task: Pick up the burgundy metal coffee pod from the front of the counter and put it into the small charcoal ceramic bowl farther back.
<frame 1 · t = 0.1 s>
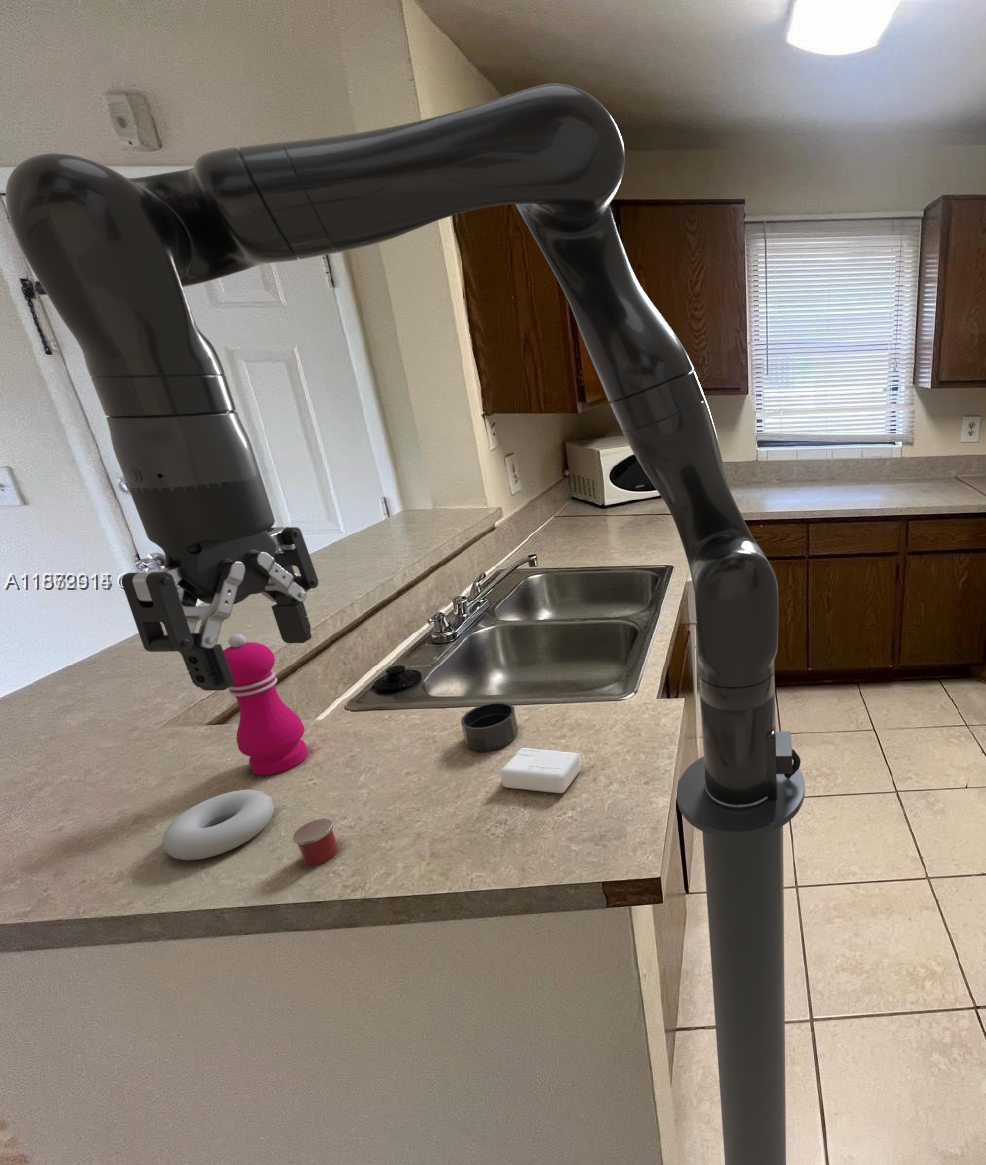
hand: (261, 663, 51), 29 cm above the counter, tool pointing down, fingers open, 8 cm apart
bowl: (492, 737, 89), on the counter
pod: (321, 854, 68), on the counter
donut: (226, 835, 71), on the counter
pepper mill: (281, 762, 84), on the counter
soap: (543, 780, 80), on the counter
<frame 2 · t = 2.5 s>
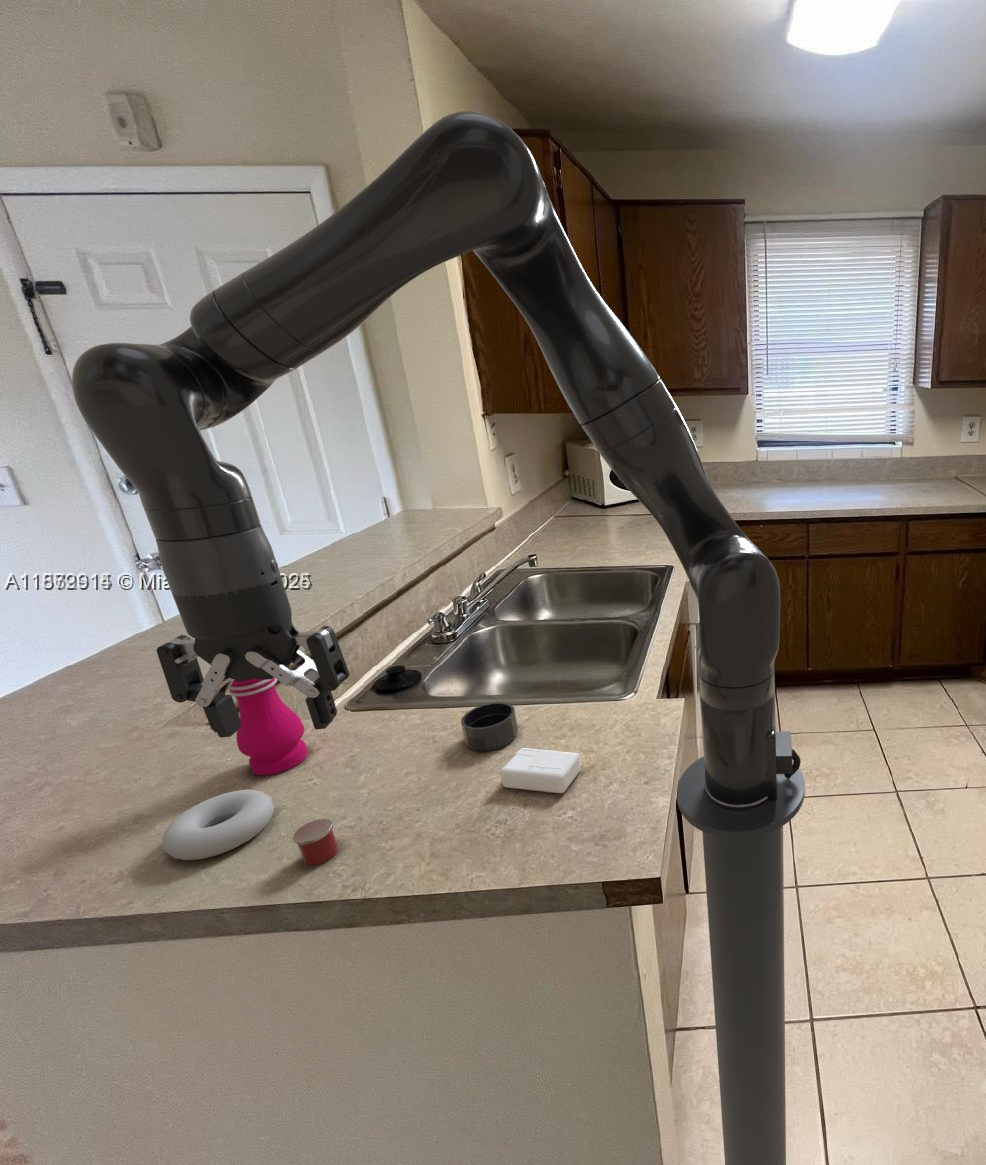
hand: (279, 728, 60), 18 cm above the counter, tool pointing down, fingers open, 8 cm apart
nothing on the counter moved.
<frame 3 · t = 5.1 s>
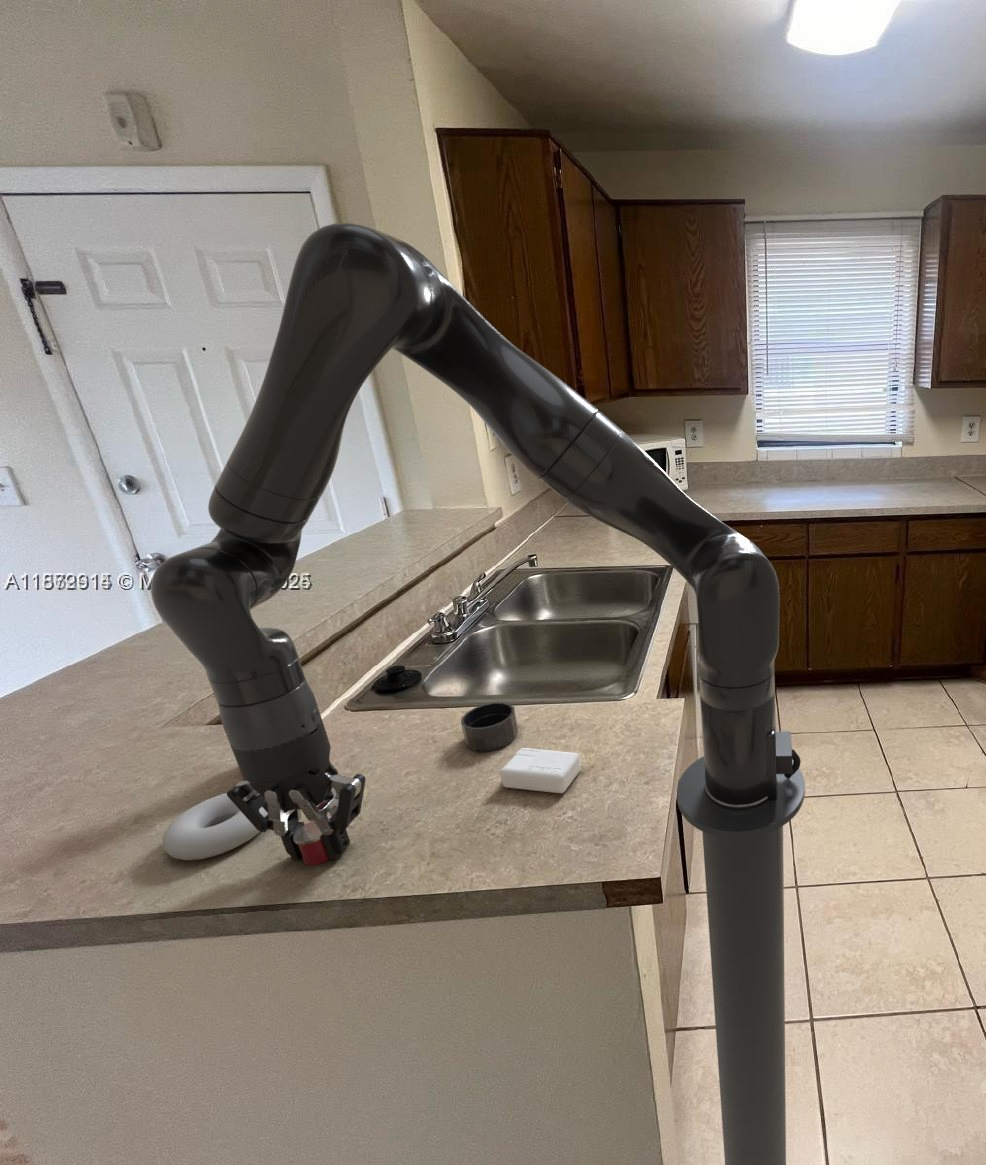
hand: (321, 853, 68), 0 cm above the counter, tool pointing down, fingers closed on pod, 3 cm apart
pod: (321, 854, 68), on the counter, touching gripper
everything else where it was.
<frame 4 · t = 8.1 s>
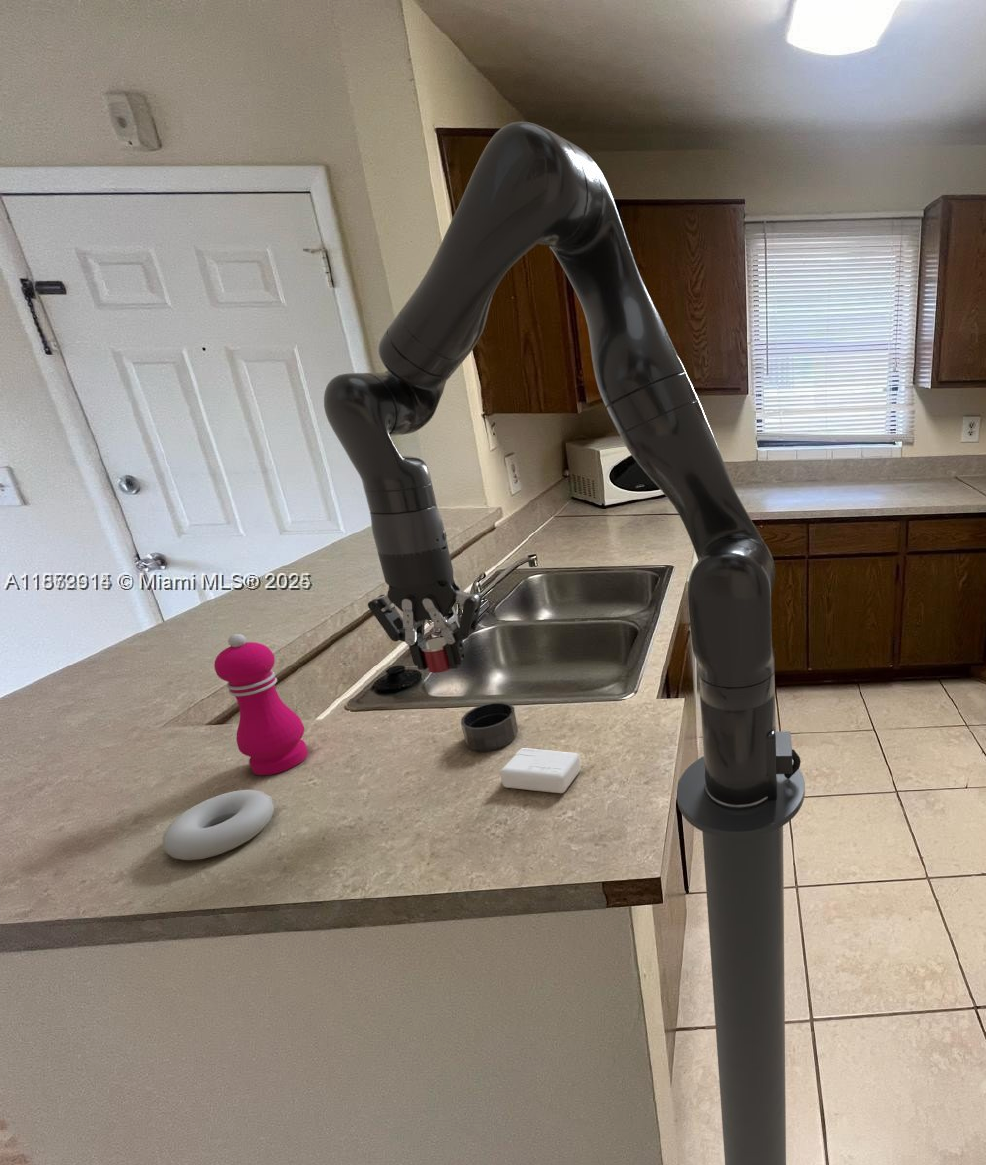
hand: (441, 665, 79), 15 cm above the counter, tool pointing down, fingers closed on pod, 3 cm apart
pod: (441, 667, 79), point 15 cm above the counter, touching gripper
everything else where it was.
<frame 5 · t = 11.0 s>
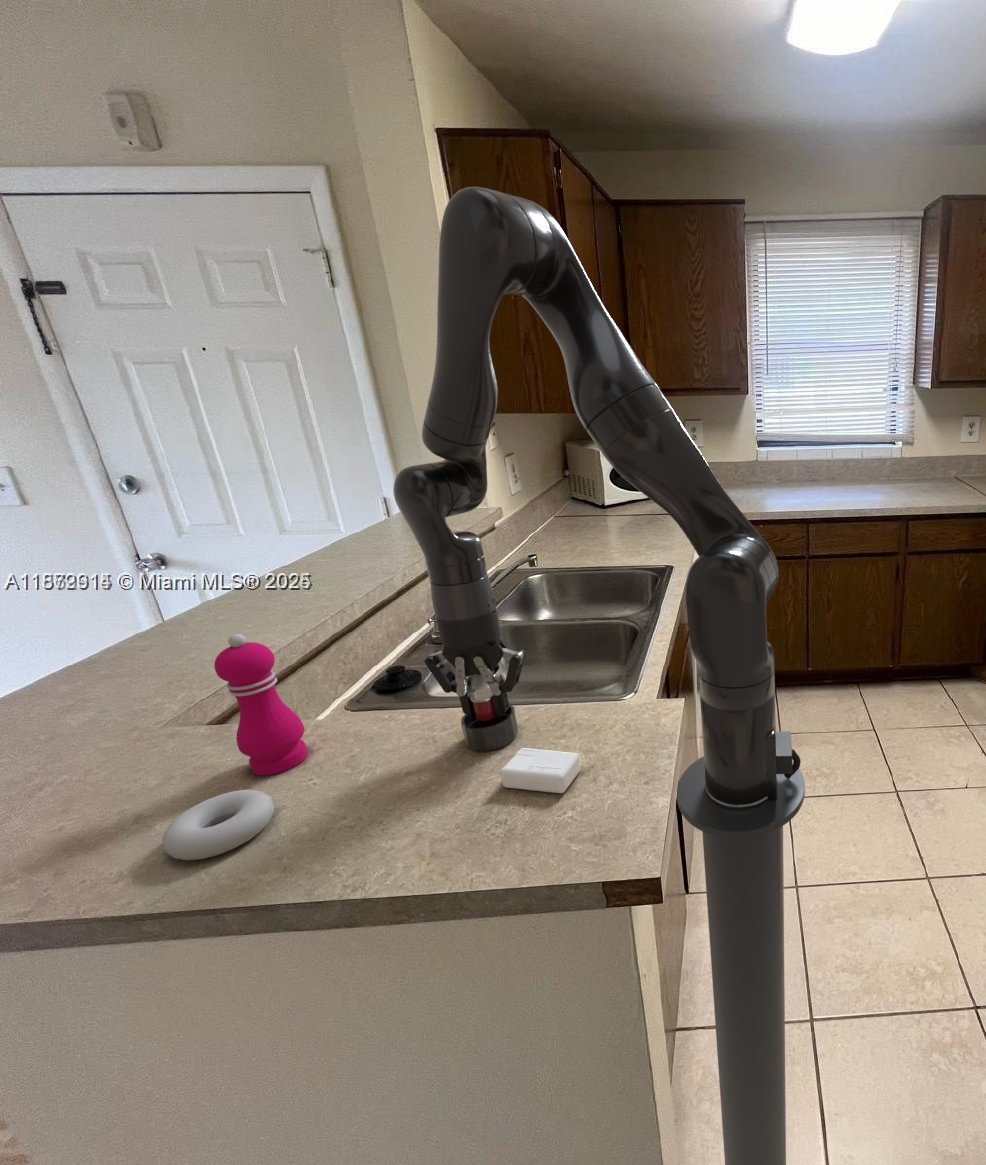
hand: (487, 713, 88), 4 cm above the counter, tool pointing down, fingers closed on pod, 3 cm apart
pod: (487, 715, 88), point 4 cm above the counter, touching gripper
everything else where it was.
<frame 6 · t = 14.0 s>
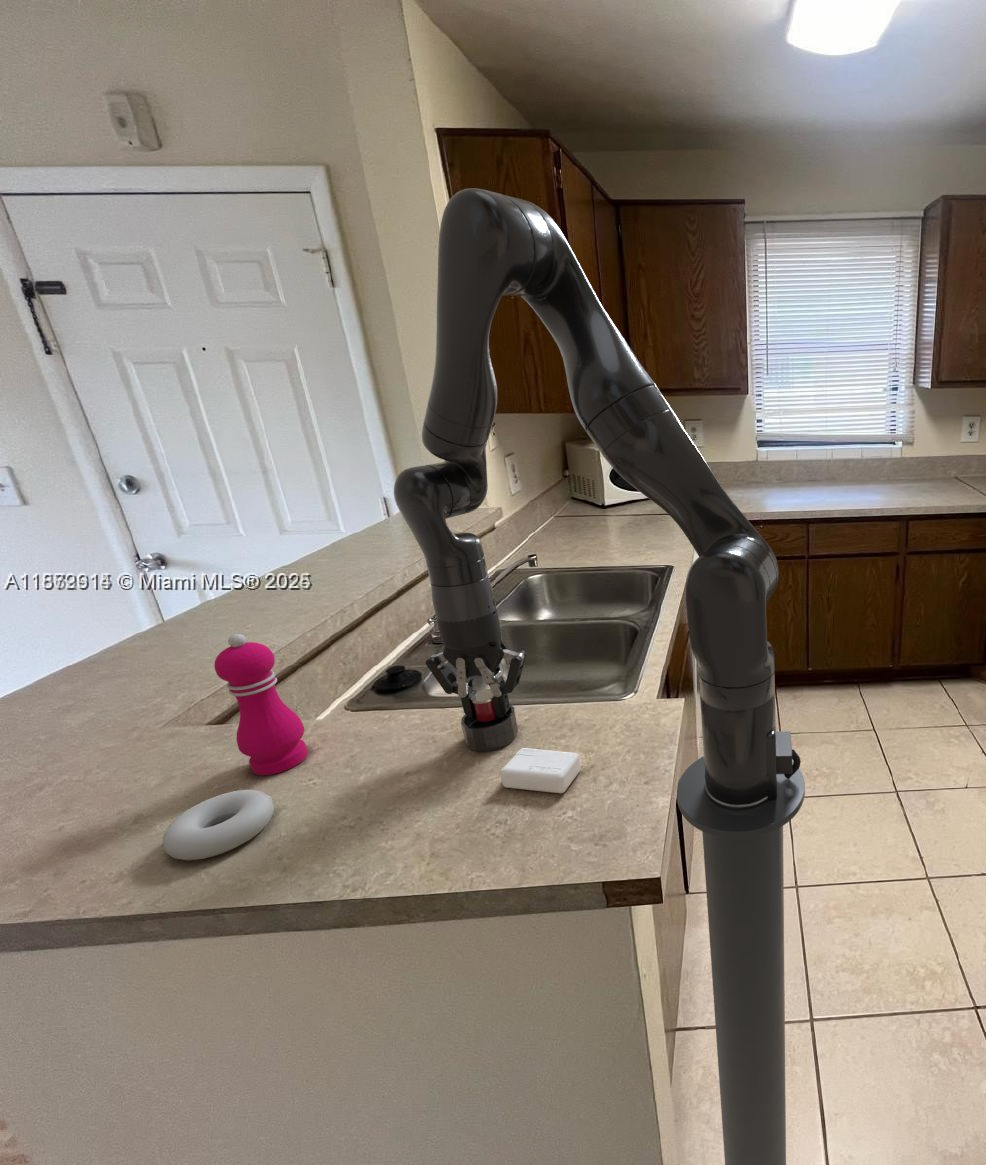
hand: (488, 715, 88), 4 cm above the counter, tool pointing down, fingers closed on pod, 3 cm apart
pod: (488, 716, 88), point 4 cm above the counter, touching gripper
everything else where it was.
when the fingers open (4 cm above the counter, at t = 16.8 s): pod drops 3 cm, resting on bowl.
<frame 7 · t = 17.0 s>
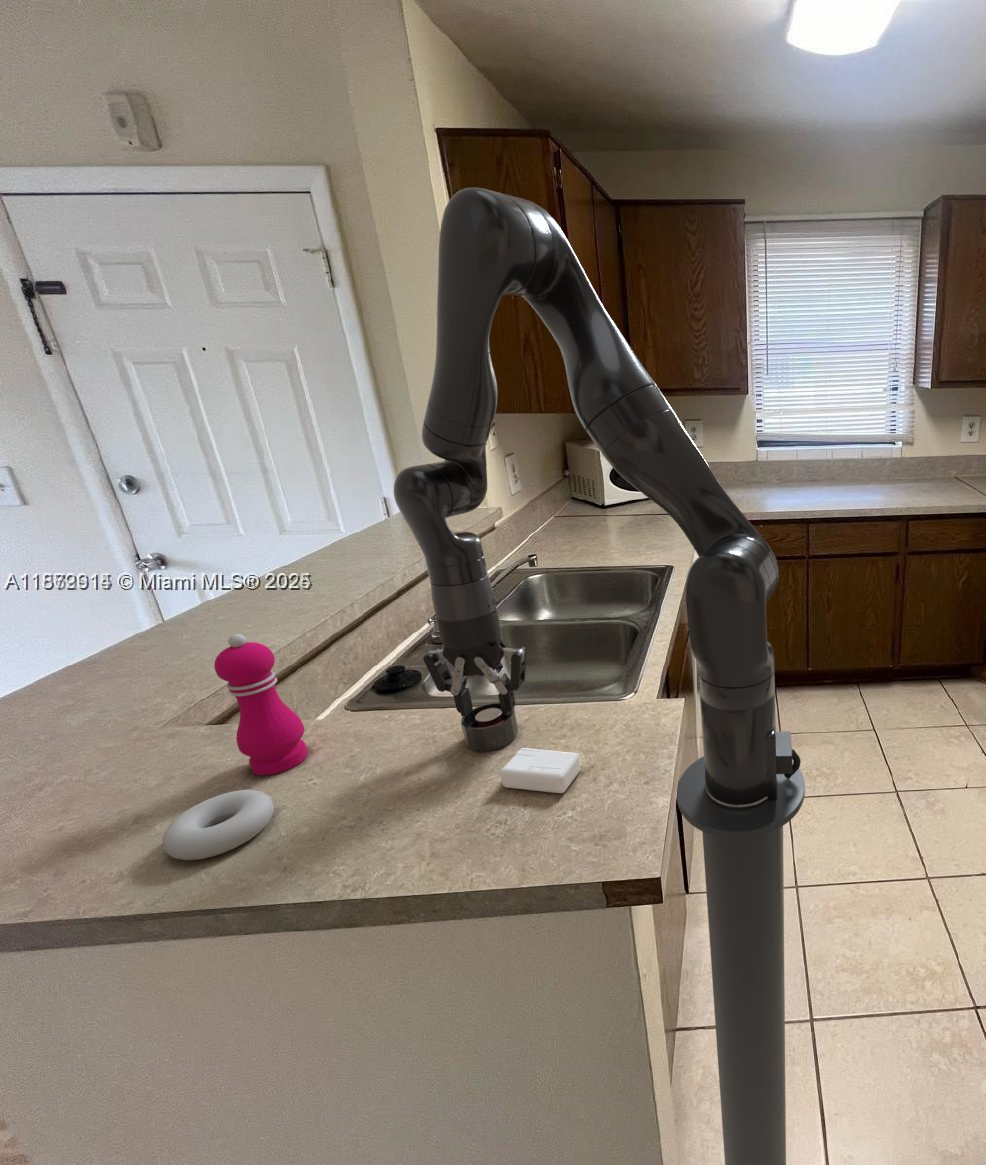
hand: (487, 712, 88), 4 cm above the counter, tool pointing down, fingers open, 5 cm apart
pod: (492, 735, 89), point 1 cm above the counter, touching bowl
everything else where it was.
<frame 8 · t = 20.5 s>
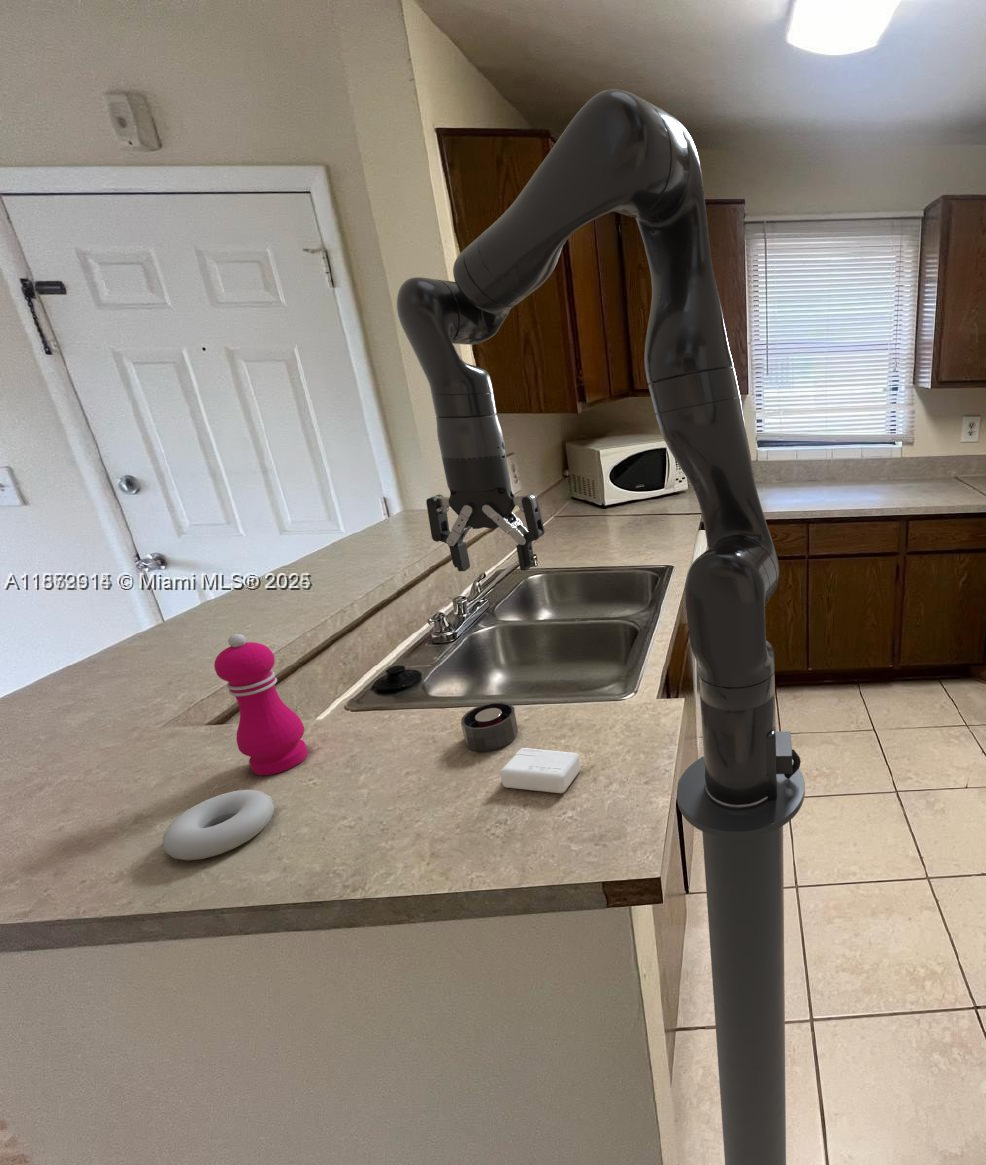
hand: (495, 569, 82), 26 cm above the counter, tool pointing down, fingers open, 8 cm apart
nothing on the counter moved.
at the end: pod 0.0 cm off-centre in the bowl, point 0.5 cm above the bowl's base; the gripper is holding nothing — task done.
